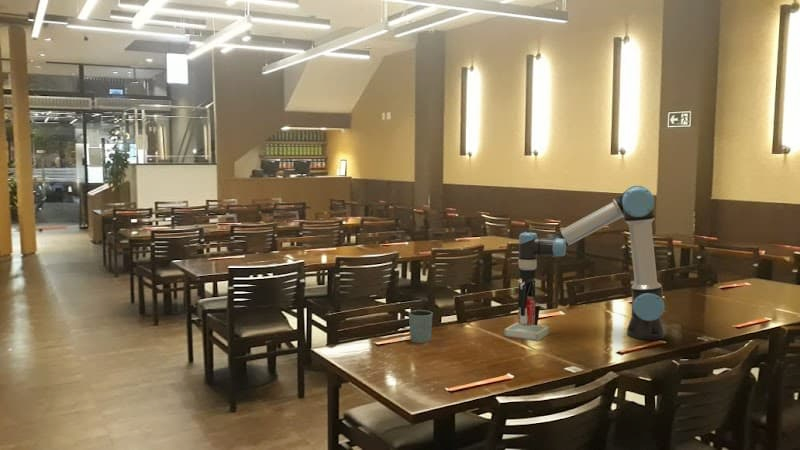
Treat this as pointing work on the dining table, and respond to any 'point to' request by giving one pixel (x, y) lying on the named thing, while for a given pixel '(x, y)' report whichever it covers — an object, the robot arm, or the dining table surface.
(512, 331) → the tray
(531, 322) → the soda can
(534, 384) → the dining table surface
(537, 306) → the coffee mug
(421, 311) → the blue-grey cup
